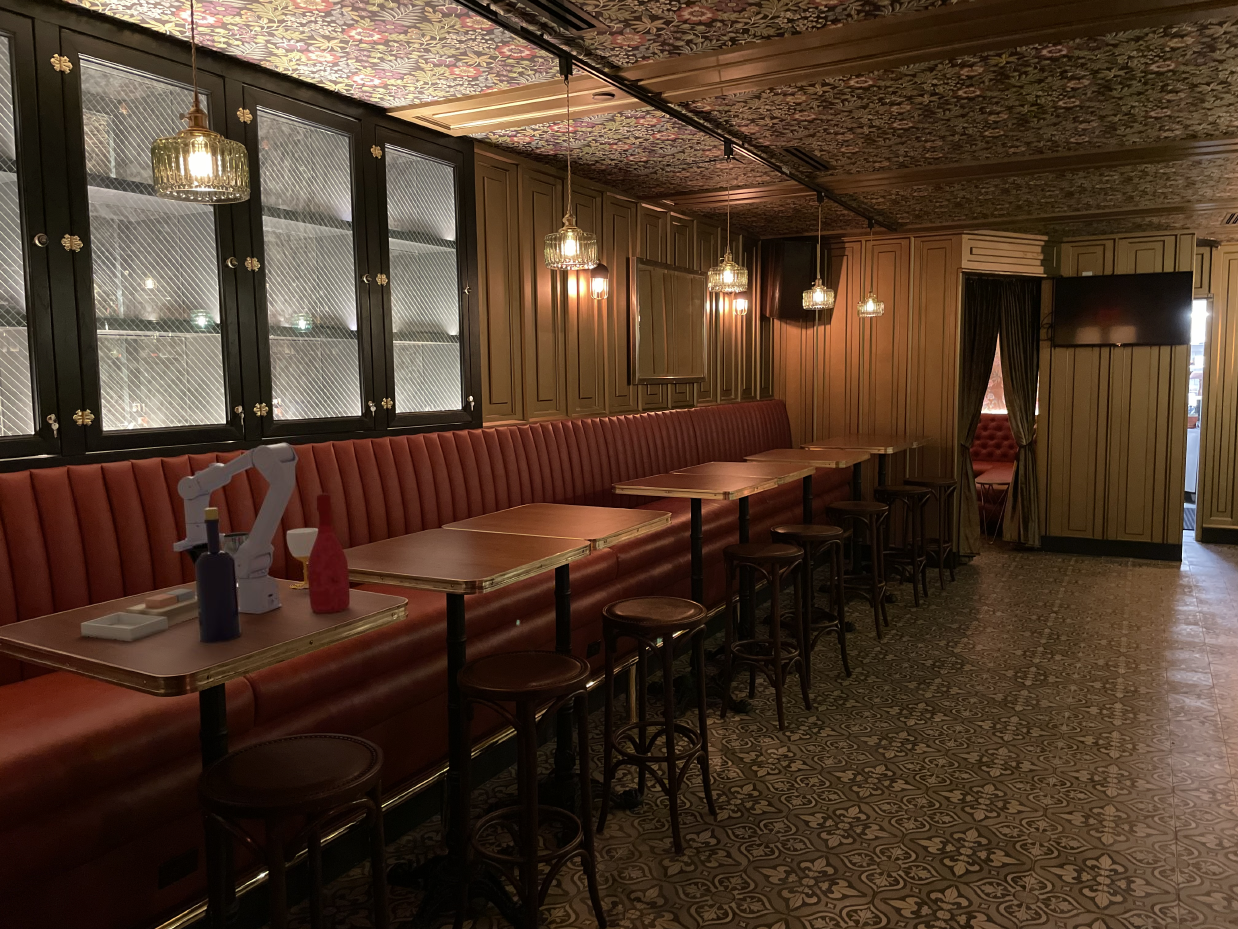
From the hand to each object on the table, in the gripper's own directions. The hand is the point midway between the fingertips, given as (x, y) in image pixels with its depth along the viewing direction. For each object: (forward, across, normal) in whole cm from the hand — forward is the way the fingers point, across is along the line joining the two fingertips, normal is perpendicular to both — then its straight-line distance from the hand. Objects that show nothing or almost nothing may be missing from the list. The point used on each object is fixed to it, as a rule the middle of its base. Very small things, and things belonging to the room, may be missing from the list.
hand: (201, 573), depth 227 cm
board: (+9, +11, 0) cm, 14 cm away
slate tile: (+5, +8, 0) cm, 9 cm away
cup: (+9, -27, +10) cm, 30 cm away
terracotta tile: (+5, +13, 0) cm, 14 cm away
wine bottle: (+9, -7, +35) cm, 37 cm away
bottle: (+9, +20, +26) cm, 34 cm away
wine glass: (+9, -22, -10) cm, 26 cm away
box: (+9, +24, 0) cm, 25 cm away
